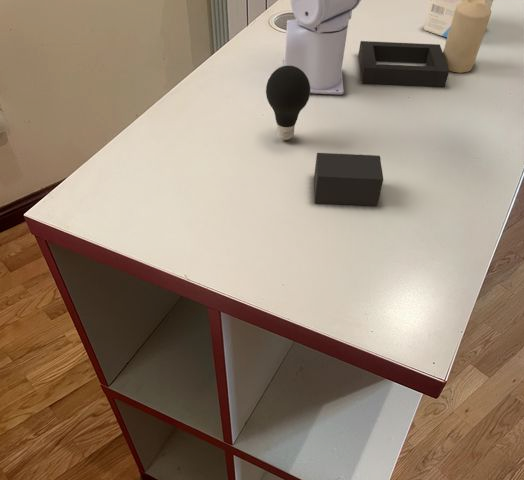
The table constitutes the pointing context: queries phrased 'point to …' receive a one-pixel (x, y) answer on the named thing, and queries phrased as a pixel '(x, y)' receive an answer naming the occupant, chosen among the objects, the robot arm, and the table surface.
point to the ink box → (442, 16)
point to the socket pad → (402, 74)
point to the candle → (466, 34)
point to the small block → (347, 179)
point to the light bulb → (287, 97)
